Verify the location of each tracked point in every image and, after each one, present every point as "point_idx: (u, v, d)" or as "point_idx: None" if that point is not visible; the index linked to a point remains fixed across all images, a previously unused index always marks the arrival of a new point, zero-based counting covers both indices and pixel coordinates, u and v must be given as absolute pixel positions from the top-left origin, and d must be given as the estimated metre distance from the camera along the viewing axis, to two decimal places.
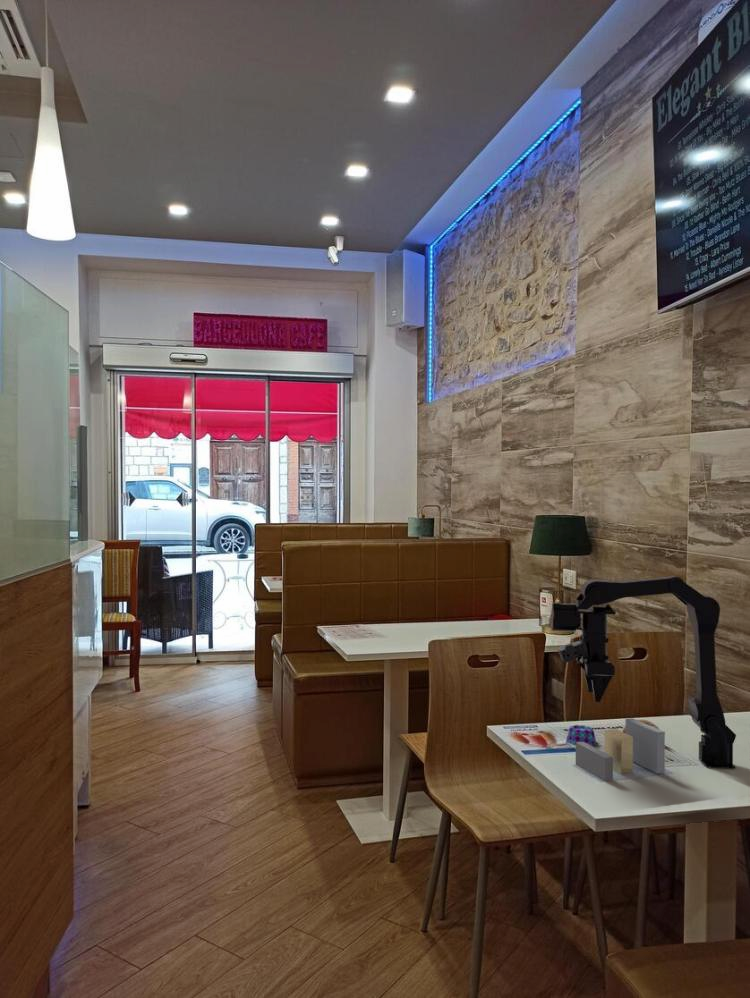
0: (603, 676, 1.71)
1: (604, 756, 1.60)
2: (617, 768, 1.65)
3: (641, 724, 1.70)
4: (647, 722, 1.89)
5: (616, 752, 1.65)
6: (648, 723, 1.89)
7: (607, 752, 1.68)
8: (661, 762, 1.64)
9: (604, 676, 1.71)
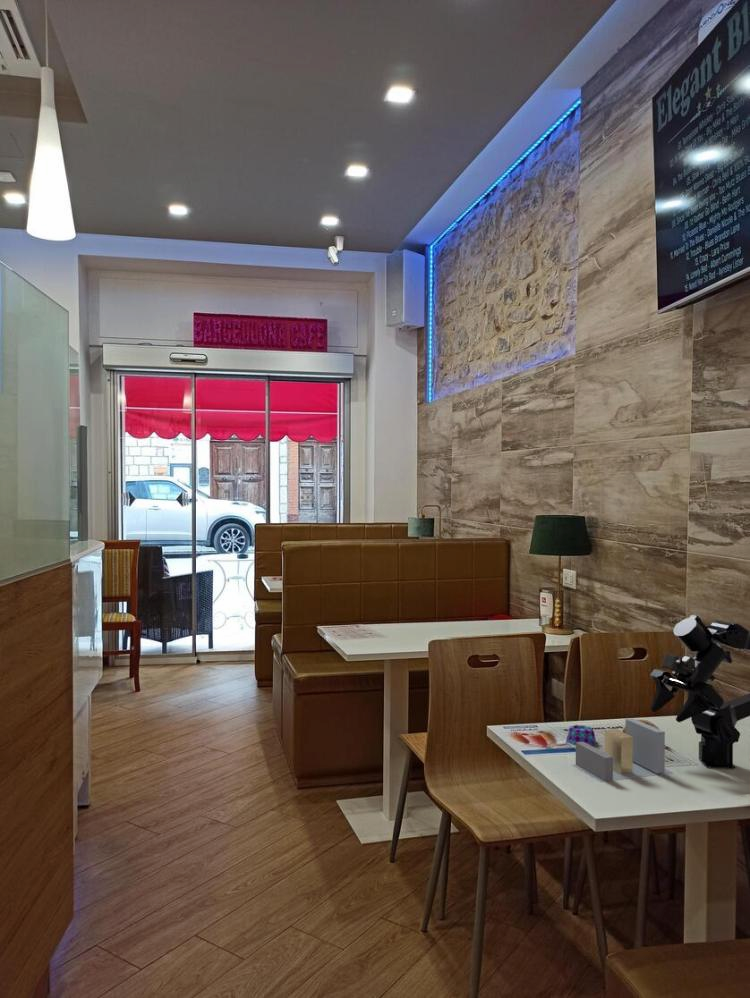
0: (707, 703, 1.65)
1: (604, 756, 1.60)
2: (617, 768, 1.65)
3: (641, 724, 1.70)
4: (647, 722, 1.89)
5: (616, 752, 1.65)
6: (648, 723, 1.89)
7: (607, 752, 1.68)
8: (661, 762, 1.64)
9: (707, 704, 1.65)
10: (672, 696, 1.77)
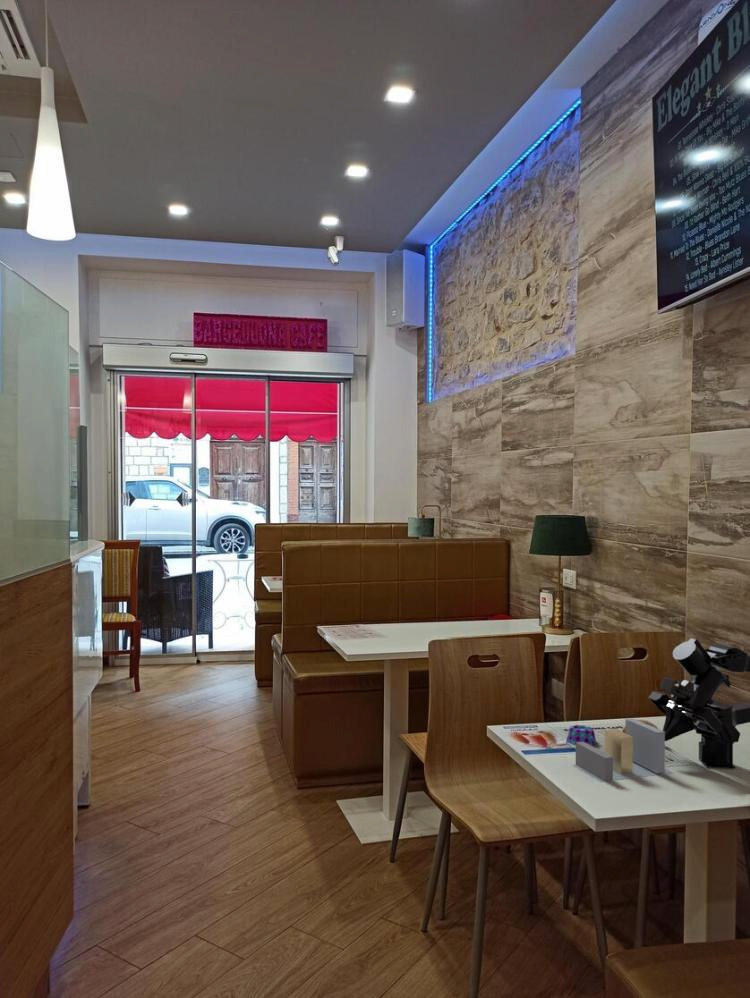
0: (692, 723, 1.69)
1: (604, 756, 1.60)
2: (617, 768, 1.65)
3: (641, 724, 1.70)
4: (647, 722, 1.89)
5: (616, 752, 1.65)
6: (648, 723, 1.89)
7: (607, 752, 1.68)
8: (661, 762, 1.64)
9: (693, 724, 1.69)
10: None
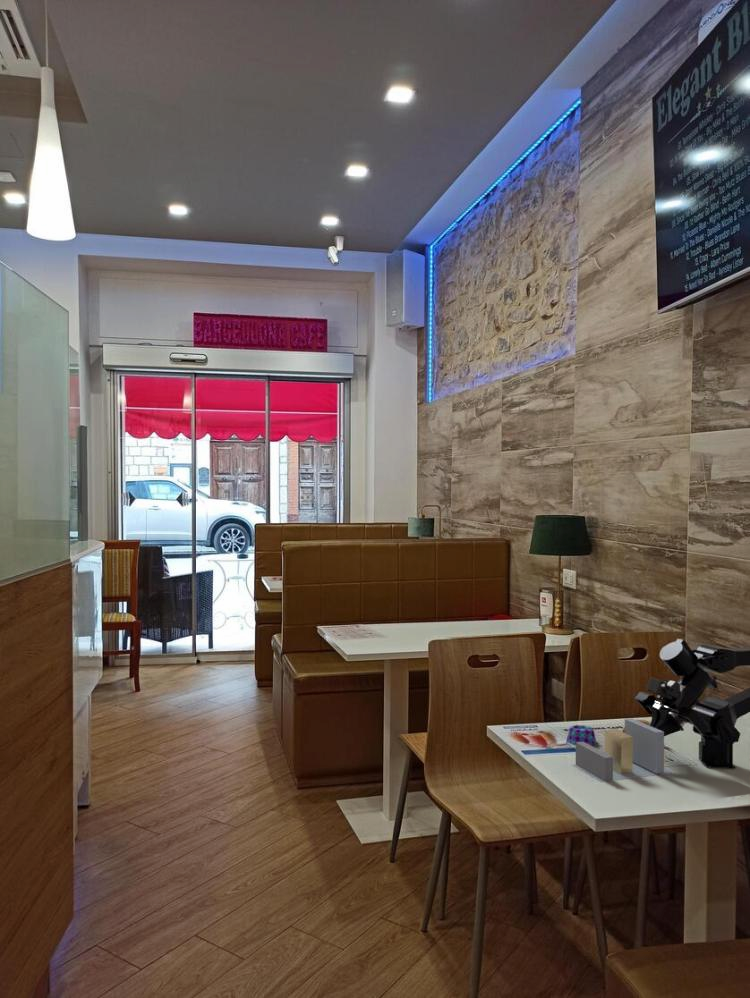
0: (678, 724, 1.68)
1: (604, 756, 1.60)
2: (617, 768, 1.65)
3: (641, 724, 1.70)
4: (647, 722, 1.89)
5: (616, 752, 1.65)
6: (648, 723, 1.89)
7: (607, 752, 1.68)
8: (660, 763, 1.64)
9: (679, 725, 1.68)
10: None
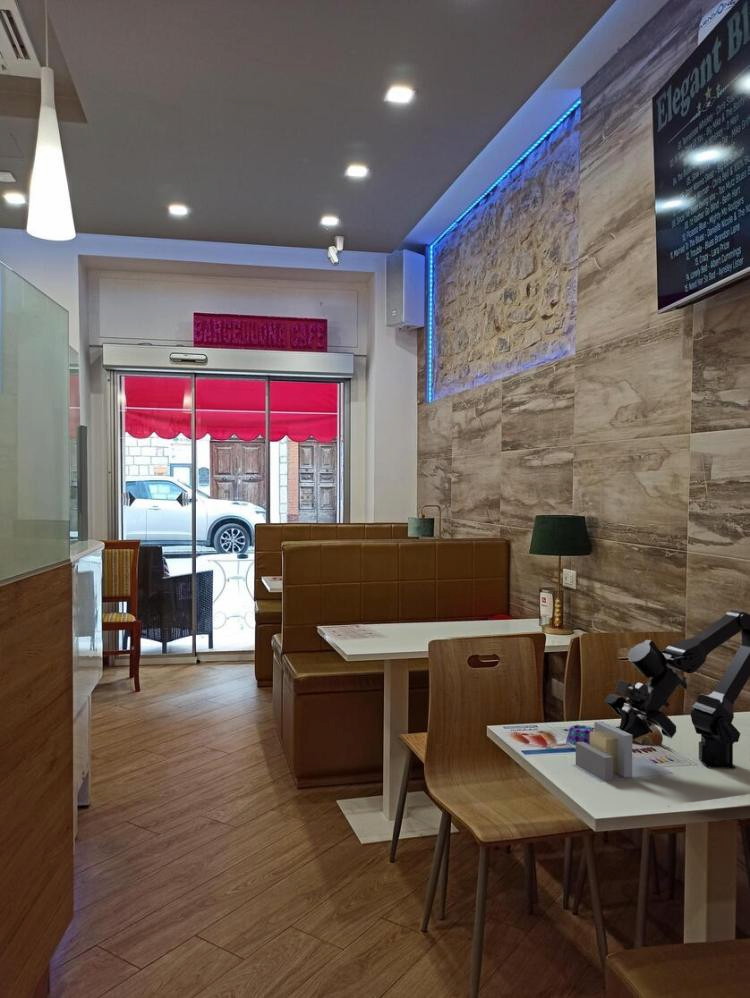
0: (647, 727, 1.65)
1: (604, 756, 1.60)
2: None
3: (610, 727, 1.67)
4: None
5: None
6: None
7: None
8: (629, 766, 1.61)
9: (648, 727, 1.65)
10: None
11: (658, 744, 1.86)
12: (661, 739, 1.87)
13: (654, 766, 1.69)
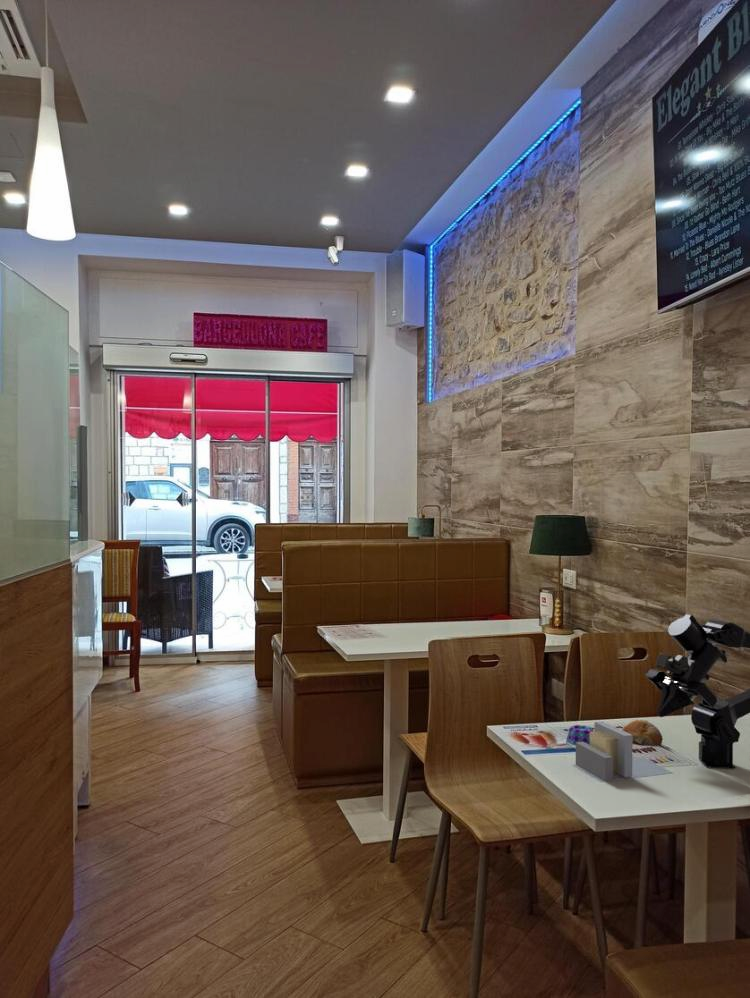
0: (688, 698, 1.69)
1: (604, 756, 1.60)
2: None
3: (610, 727, 1.67)
4: (646, 722, 1.89)
5: None
6: (647, 723, 1.88)
7: None
8: (629, 766, 1.61)
9: (689, 699, 1.69)
10: None
11: (658, 744, 1.85)
12: (660, 739, 1.86)
13: (654, 766, 1.69)
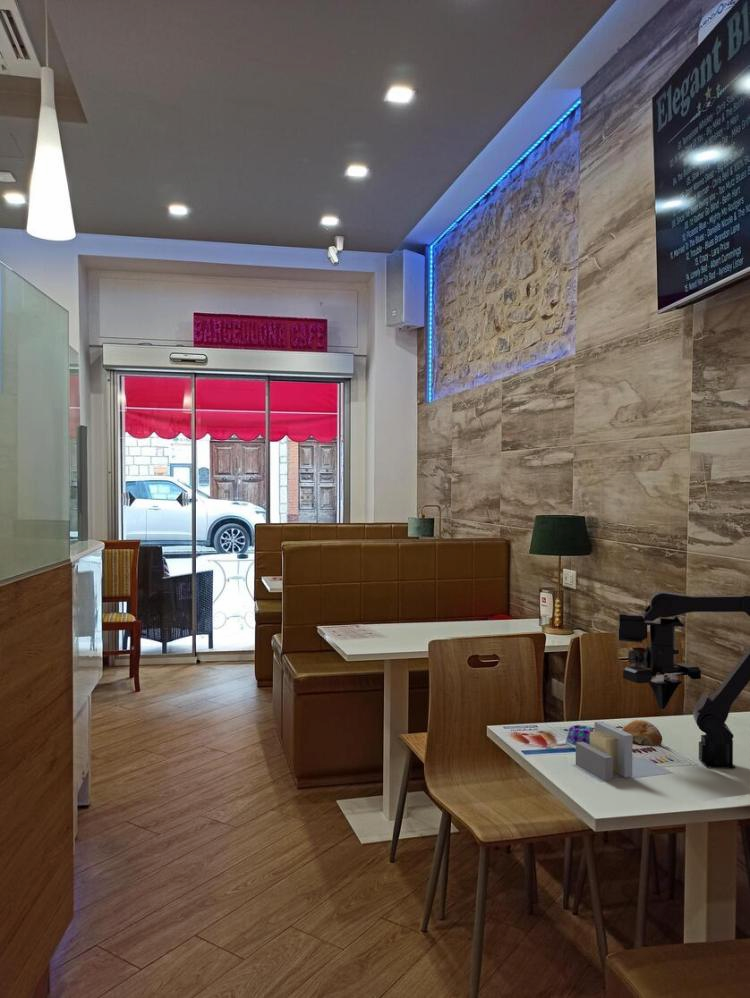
0: (651, 682, 1.77)
1: (604, 756, 1.60)
2: None
3: (610, 727, 1.67)
4: (646, 723, 1.89)
5: None
6: (647, 724, 1.88)
7: None
8: (629, 766, 1.61)
9: (652, 682, 1.77)
10: (671, 684, 1.77)
11: (657, 744, 1.85)
12: (660, 739, 1.86)
13: (654, 766, 1.69)
